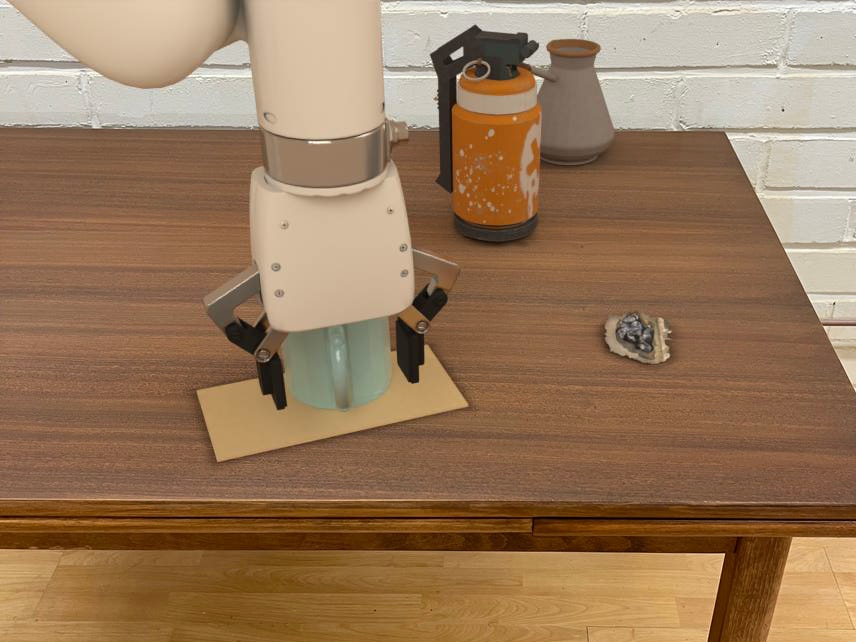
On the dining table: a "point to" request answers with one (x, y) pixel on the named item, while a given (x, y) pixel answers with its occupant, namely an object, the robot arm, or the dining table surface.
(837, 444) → the dining table surface
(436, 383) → the mat
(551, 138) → the coffee pot
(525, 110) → the canister
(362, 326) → the teal coffee mug
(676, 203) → the dining table surface
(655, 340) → the mineral specimen
